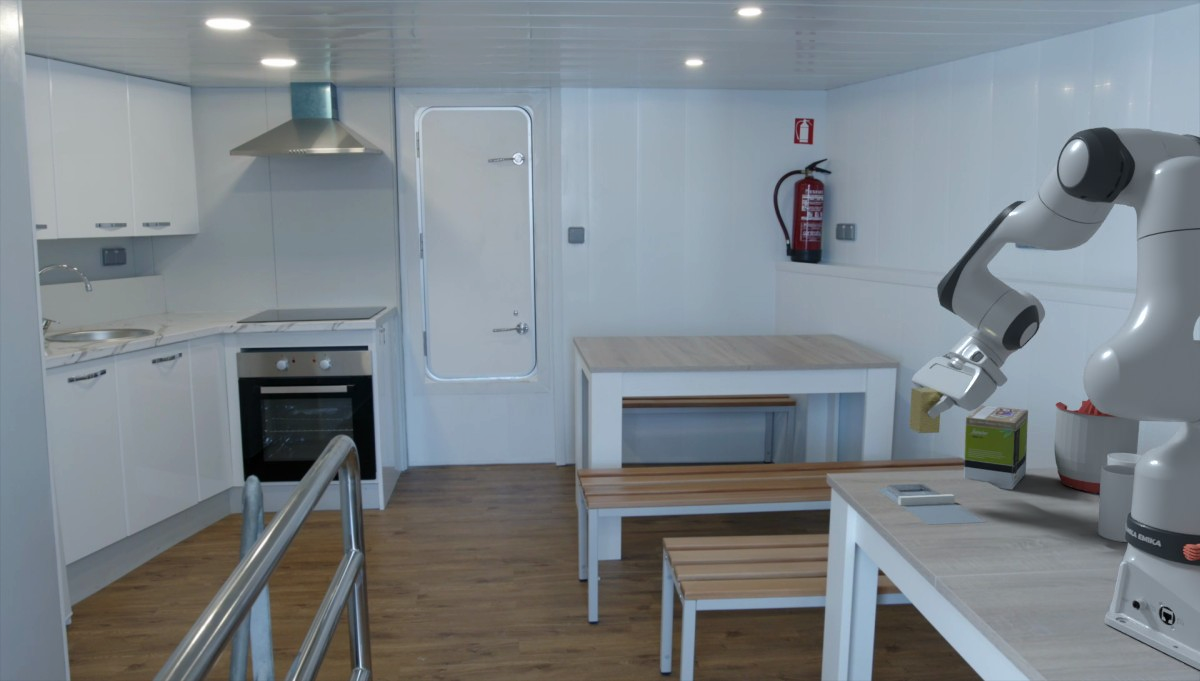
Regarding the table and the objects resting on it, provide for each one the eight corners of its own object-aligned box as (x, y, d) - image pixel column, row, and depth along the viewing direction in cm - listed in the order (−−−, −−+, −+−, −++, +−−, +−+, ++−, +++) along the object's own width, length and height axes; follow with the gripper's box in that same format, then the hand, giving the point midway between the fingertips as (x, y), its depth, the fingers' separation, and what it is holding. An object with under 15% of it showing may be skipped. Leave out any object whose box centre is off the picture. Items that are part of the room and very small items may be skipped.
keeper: (941, 500, 169) (942, 494, 169) (904, 502, 168) (904, 496, 168) (922, 489, 177) (922, 483, 177) (886, 490, 176) (886, 485, 176)
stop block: (939, 432, 167) (941, 391, 166) (919, 433, 166) (921, 392, 165) (928, 427, 171) (930, 387, 170) (909, 428, 170) (911, 388, 169)
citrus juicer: (1087, 471, 194) (1094, 383, 191) (1154, 494, 177) (1162, 398, 174) (1027, 476, 190) (1033, 386, 187) (1090, 500, 173) (1097, 401, 171)
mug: (1141, 545, 148) (1146, 477, 147) (1096, 538, 151) (1101, 472, 150) (1139, 528, 157) (1144, 463, 155) (1096, 522, 160) (1101, 458, 159)
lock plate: (986, 527, 157) (986, 513, 157) (928, 529, 156) (929, 516, 156) (925, 491, 179) (926, 479, 179) (875, 493, 178) (875, 481, 177)
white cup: (1094, 502, 172) (1098, 453, 171) (1131, 501, 173) (1135, 452, 171) (1122, 515, 164) (1126, 463, 163) (1161, 513, 165) (1165, 462, 164)
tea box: (978, 467, 197) (981, 403, 195) (1026, 474, 191) (1030, 409, 190) (961, 483, 185) (965, 415, 183) (1012, 491, 179) (1017, 421, 177)
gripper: (935, 342, 177) (887, 390, 178) (991, 359, 157) (937, 413, 157) (954, 363, 179) (907, 411, 179) (1013, 382, 158) (959, 436, 159)
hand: (922, 412), depth 168 cm, fingers closed on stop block, 4 cm apart
